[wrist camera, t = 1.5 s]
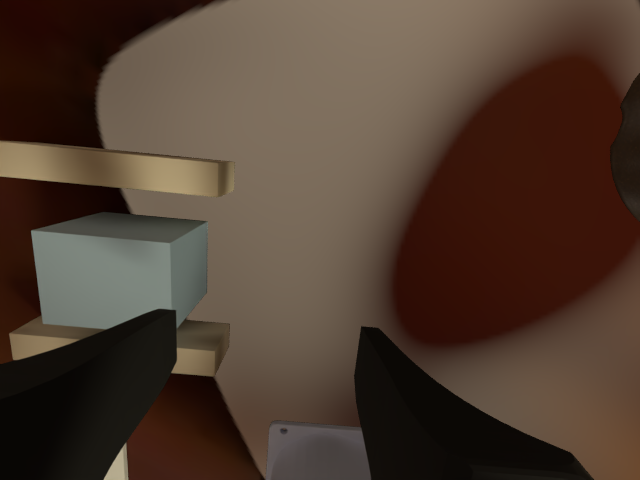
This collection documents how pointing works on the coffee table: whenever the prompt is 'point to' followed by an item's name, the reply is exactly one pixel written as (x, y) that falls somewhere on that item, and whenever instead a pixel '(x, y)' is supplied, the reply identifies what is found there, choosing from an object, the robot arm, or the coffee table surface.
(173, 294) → the block
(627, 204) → the plant pot
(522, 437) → the robot arm
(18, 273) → the coffee table surface
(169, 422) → the coffee table surface
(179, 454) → the coffee table surface
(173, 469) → the coffee table surface
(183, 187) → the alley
